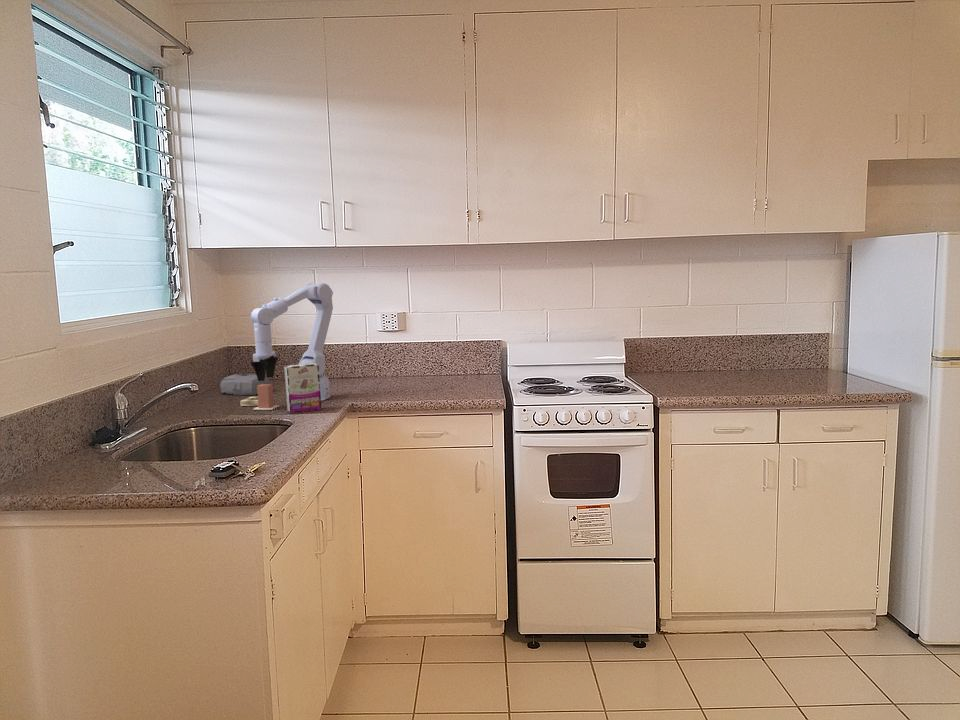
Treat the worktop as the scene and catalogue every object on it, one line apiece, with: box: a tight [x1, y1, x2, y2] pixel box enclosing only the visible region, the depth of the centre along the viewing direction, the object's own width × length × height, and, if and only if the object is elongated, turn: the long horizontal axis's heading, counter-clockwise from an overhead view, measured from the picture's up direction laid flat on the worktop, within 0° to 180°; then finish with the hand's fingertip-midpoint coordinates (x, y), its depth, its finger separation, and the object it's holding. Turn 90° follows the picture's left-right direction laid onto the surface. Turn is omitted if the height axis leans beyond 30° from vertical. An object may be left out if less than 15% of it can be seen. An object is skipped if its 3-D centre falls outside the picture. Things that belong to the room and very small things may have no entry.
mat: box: [252, 404, 280, 411], centre depth 258 cm, size 7×6×1 cm
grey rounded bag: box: [219, 372, 271, 396], centre depth 294 cm, size 15×8×20 cm
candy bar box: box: [283, 363, 322, 414], centre depth 252 cm, size 11×5×16 cm, turn 117°
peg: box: [257, 383, 275, 408], centre depth 258 cm, size 4×4×8 cm
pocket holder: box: [239, 396, 258, 407], centre depth 267 cm, size 8×8×2 cm
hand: (265, 379), depth 260 cm, fingers open, 7 cm apart
